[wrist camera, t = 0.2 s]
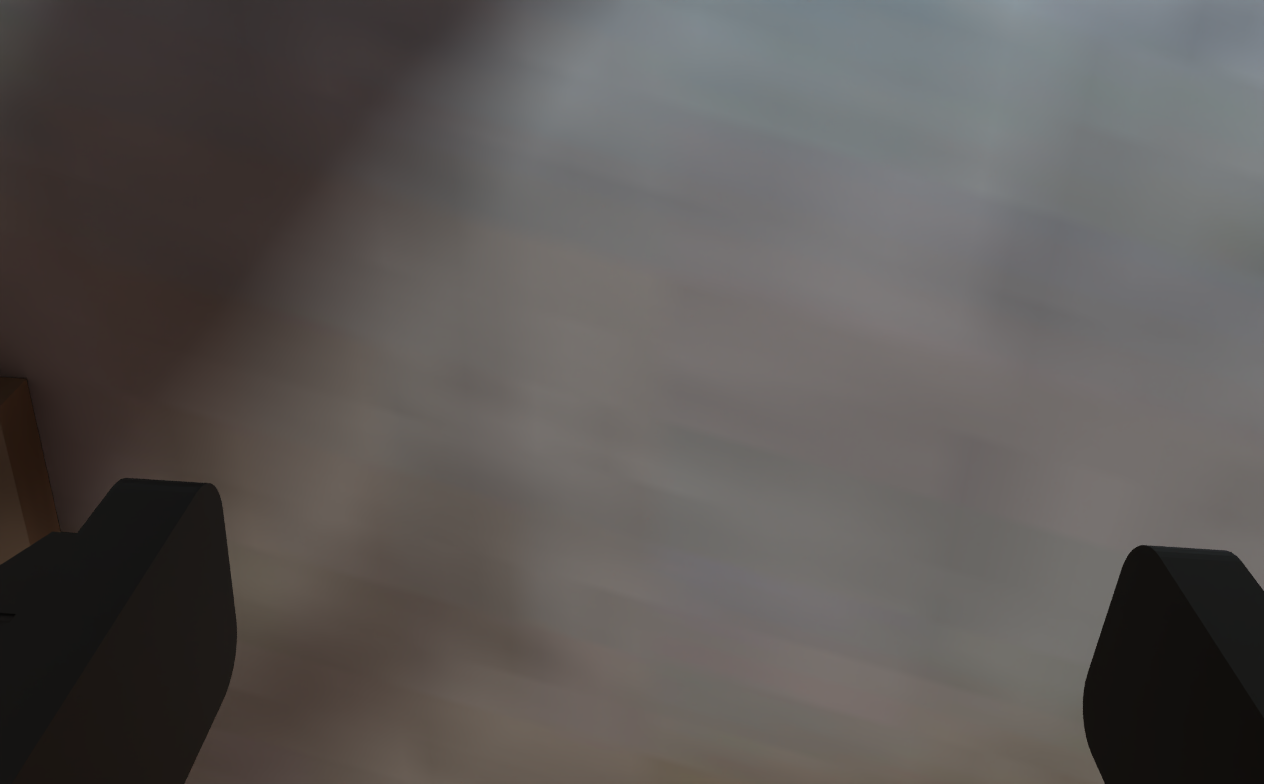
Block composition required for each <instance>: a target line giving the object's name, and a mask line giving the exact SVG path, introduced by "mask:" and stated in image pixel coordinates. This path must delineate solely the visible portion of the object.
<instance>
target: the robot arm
mask: <svg viewBox="0 0 1264 784" xmlns="http://www.w3.org/2000/svg"><path fill="white" fill-rule="evenodd" d="M236 643H237V624H236V614H235V606H234V597H233V589H232V581H231V572H230V564H229V556H228V548H227V539H226V531H225V523H224V515H223V507H222V501H221V498H220V495H219V492H218V490H217V489H216V487H215V486H214V485H213V484H210V483H196V482H181V481H165V480H149V479H134V478H124V479H121V480H119V481H118V482H117V483H116V484H115V485H114V486H113V487H112V488H111V489H110V491H109V492H108V493H107V495H106V496H105V497H104V499H103V500H102V501H101V503H100V504H99V505H98V507H97V508H96V509H95V510H94V512H93V513H92V514H91V516H90V517H89V518H88V520H87V521H86V522H85V524H84V525H83V526H82V528H81V529H80V530H79V532H78V533H67V532H51V533H49V534H48V535H46V536H45V537H43V538H42V539H40V540H38V541H37V542H35V543H34V544H32V545H31V546H29V547H28V548H26V549H24V550H23V551H21V552H20V553H18V554H17V555H15V556H13V557H12V558H10V559H9V560H7V561H6V562H4V563H3V564H1V565H0V784H184V783H185V781H186V779H187V777H188V774H189V772H190V770H191V768H192V766H193V764H194V761H195V759H196V757H197V755H198V753H199V751H200V749H201V746H202V744H203V742H204V740H205V738H206V736H207V733H208V731H209V729H210V727H211V725H212V723H213V721H214V718H215V716H216V714H217V712H218V710H219V708H220V706H221V703H222V701H223V699H224V697H225V694H226V692H227V689H228V686H229V683H230V679H231V675H232V671H233V666H234V661H235V654H236ZM1083 719H1084V728H1085V733H1086V738H1087V742H1088V745H1089V748H1090V751H1091V753H1092V756H1093V758H1094V760H1095V762H1096V765H1097V767H1098V769H1099V771H1100V774H1101V776H1102V778H1103V780H1104V783H1105V784H1264V591H1263V589H1262V588H1261V587H1260V585H1259V584H1258V583H1257V581H1256V580H1255V579H1254V577H1253V576H1252V575H1251V573H1250V572H1249V571H1248V569H1247V568H1246V567H1245V565H1244V564H1243V563H1242V561H1241V560H1240V559H1239V558H1238V557H1237V556H1236V555H1234V554H1233V553H1232V552H1229V551H1225V550H1210V549H1194V548H1178V547H1163V546H1147V545H1141V546H1138V547H1136V548H1135V549H1133V550H1132V551H1131V552H1130V554H1129V555H1128V556H1127V558H1126V560H1125V562H1124V564H1123V567H1122V570H1121V573H1120V576H1119V579H1118V582H1117V585H1116V588H1115V591H1114V594H1113V597H1112V600H1111V603H1110V606H1109V610H1108V613H1107V616H1106V619H1105V622H1104V625H1103V628H1102V631H1101V634H1100V637H1099V640H1098V643H1097V646H1096V649H1095V652H1094V656H1093V659H1092V662H1091V665H1090V668H1089V671H1088V674H1087V678H1086V681H1085V687H1084V695H1083Z"/></svg>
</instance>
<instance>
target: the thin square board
mask: <svg viewBox="0 0 1264 784" xmlns="http://www.w3.org/2000/svg"><path fill="white" fill-rule="evenodd" d="M51 532H61V531H60V527H59V522H58V518H57V513H56V509H55V504H54V500H53V496H52V491H51V487H50V482H49V478H48V473H47V469H46V464H45V460H44V455H43V451H42V446H41V442H40V437H39V433H38V429H37V424H36V420H35V415H34V411H33V406H32V402H31V397H30V393H29V388H28V384H27V379H24V378H9V377H0V565H1V564H3V563H4V562H6V561H7V560H9V559H10V558H12V557H13V556H15V555H17V554H18V553H20V552H21V551H23V550H24V549H26V548H28V547H29V546H31V545H32V544H34V543H35V542H37V541H38V540H40V539H42V538H43V537H45V536H46V535H48V534H49V533H51Z"/></svg>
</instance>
